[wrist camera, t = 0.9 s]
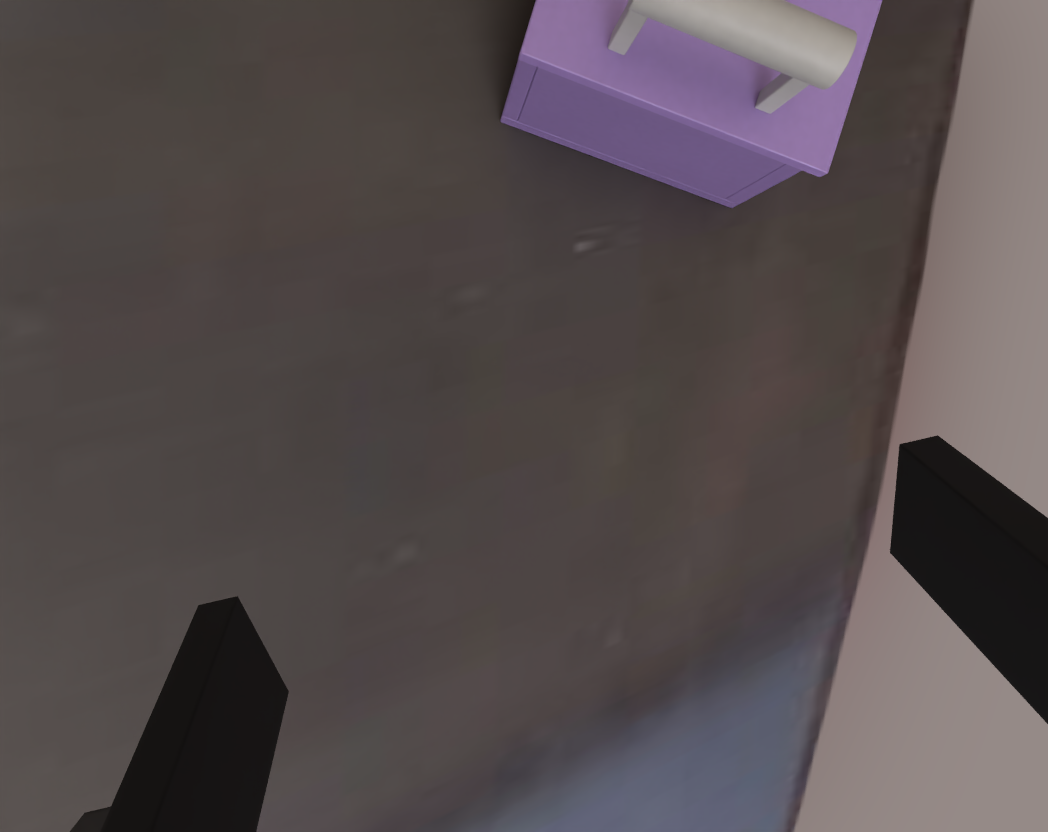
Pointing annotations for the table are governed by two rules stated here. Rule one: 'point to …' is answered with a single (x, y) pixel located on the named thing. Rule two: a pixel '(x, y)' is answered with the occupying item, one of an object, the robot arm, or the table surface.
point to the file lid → (717, 64)
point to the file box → (637, 138)
